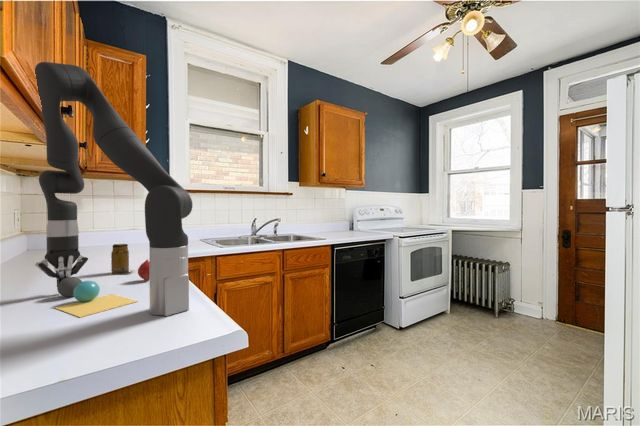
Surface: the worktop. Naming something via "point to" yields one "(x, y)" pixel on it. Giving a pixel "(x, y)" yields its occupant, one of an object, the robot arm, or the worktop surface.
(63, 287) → the dark gray ball
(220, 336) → the worktop surface
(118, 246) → the condiment
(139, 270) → the onion
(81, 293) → the object ball
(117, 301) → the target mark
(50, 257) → the robot arm
